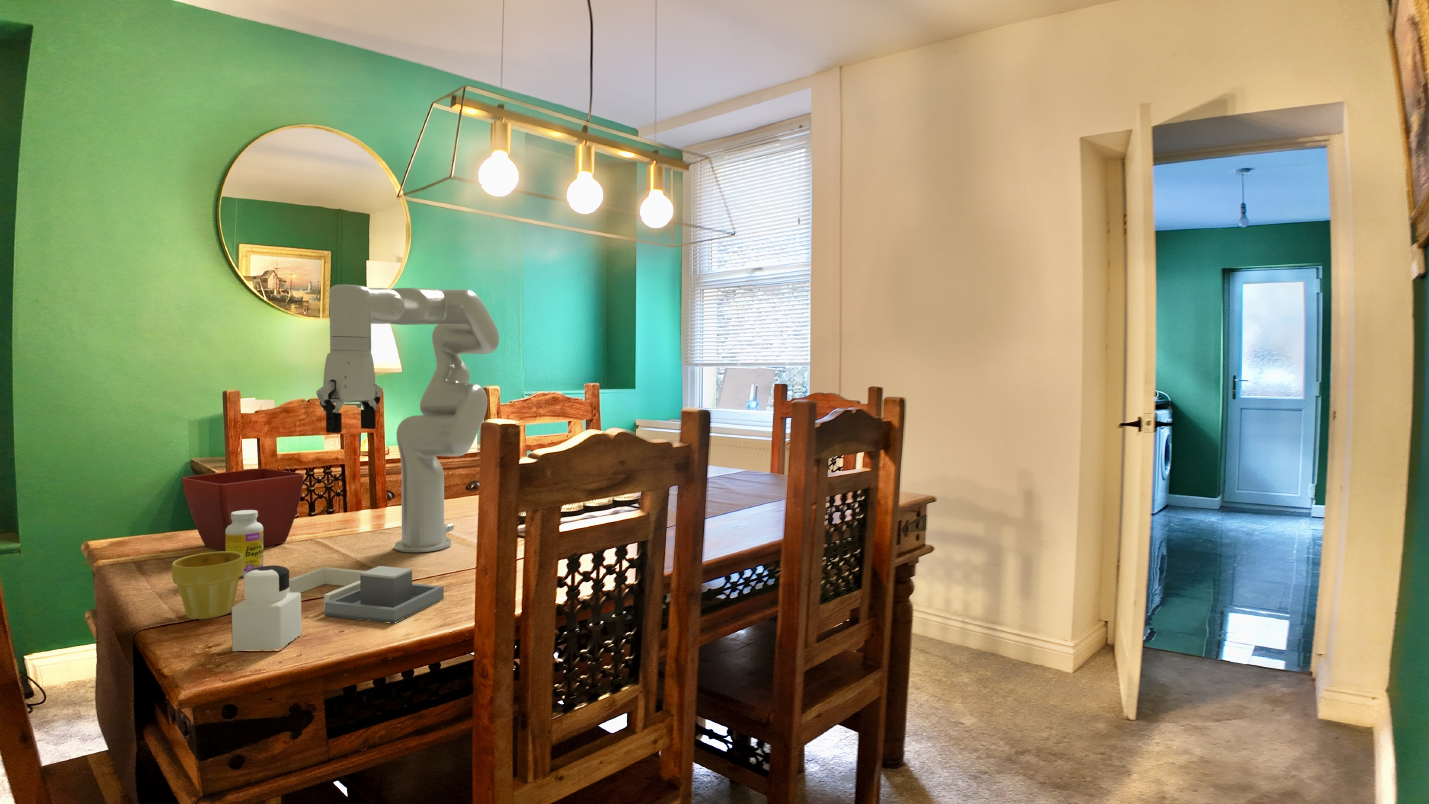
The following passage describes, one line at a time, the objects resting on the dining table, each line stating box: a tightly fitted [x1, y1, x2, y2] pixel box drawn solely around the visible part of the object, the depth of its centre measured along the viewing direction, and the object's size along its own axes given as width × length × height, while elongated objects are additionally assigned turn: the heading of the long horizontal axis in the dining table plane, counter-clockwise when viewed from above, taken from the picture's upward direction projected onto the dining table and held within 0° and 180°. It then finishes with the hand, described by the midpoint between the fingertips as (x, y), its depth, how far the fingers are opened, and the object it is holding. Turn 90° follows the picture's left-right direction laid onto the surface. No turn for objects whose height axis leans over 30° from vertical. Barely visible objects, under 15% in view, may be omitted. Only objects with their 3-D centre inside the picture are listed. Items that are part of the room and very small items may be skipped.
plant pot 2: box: [171, 550, 244, 621], centre depth 129 cm, size 10×10×10 cm
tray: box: [324, 582, 445, 624], centre depth 134 cm, size 14×14×2 cm
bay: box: [288, 566, 366, 612], centre depth 140 cm, size 15×14×3 cm
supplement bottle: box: [225, 510, 264, 578], centre depth 154 cm, size 7×7×13 cm
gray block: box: [360, 565, 413, 608], centre depth 134 cm, size 5×7×6 cm
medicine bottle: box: [230, 564, 302, 652], centre depth 116 cm, size 7×7×12 cm
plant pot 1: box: [181, 467, 305, 551], centre depth 177 cm, size 19×19×17 cm
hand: (351, 430), depth 151 cm, fingers open, 9 cm apart
